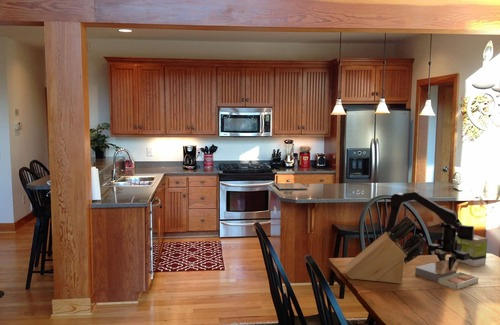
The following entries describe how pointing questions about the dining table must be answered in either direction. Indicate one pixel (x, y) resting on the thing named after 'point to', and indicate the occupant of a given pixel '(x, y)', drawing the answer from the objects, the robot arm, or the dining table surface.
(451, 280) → the tile near
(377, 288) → the dining table surface
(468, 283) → the tray
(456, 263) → the strip
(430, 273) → the board
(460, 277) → the tile far
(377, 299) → the dining table surface
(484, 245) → the tea box
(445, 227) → the robot arm
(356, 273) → the knife block
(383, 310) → the dining table surface
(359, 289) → the dining table surface
